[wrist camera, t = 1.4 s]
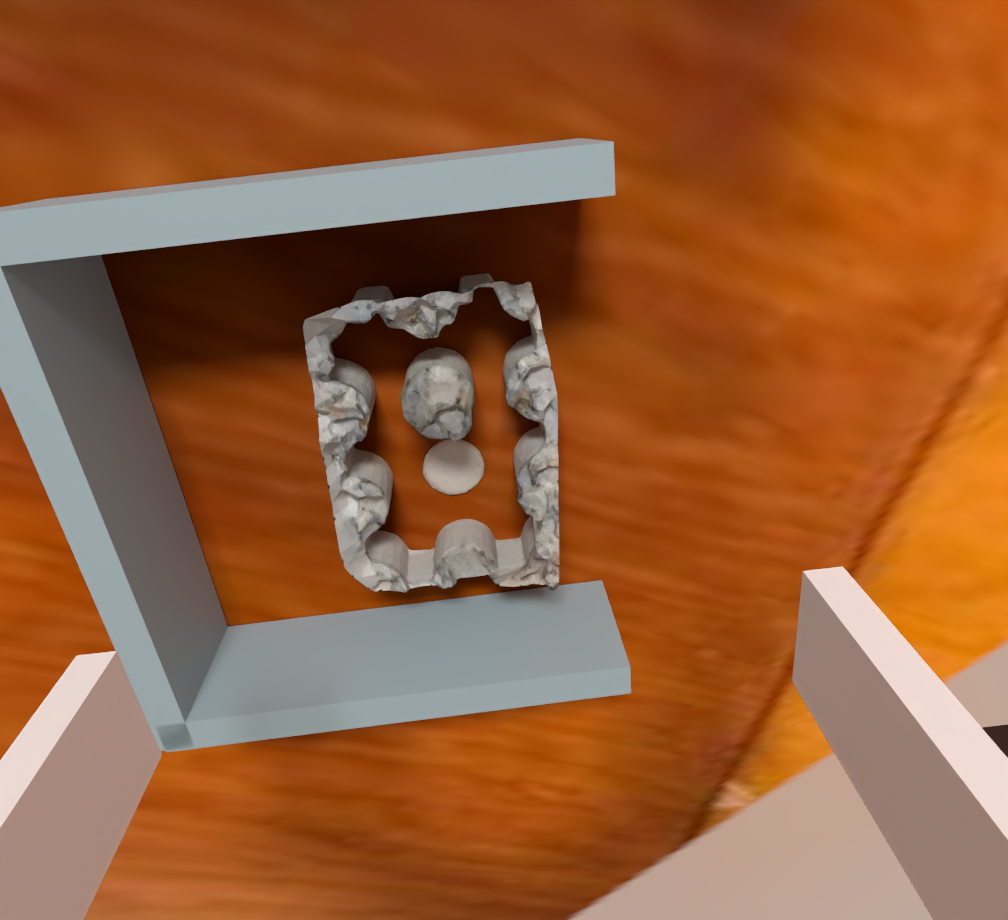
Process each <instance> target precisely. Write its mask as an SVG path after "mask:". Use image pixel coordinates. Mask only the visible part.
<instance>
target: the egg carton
mask: <svg viewBox="0 0 1008 920" xmlns="http://www.w3.org/2000/svg"><path fill="white" fill-rule="evenodd" d="M478 287H492V288H493V289H494V291H495V292H496V295H497V297H498V299H499V301H500V304H501V306H502V307H503V309H504V310H505V311H506V312H507V313H508V314H509V315H510V316H513V317H515V318H517V319H519V320H521V321H525V320H529V322H530V326H531V335H530V336H528V337H525V338H523V339H521V340H519V341H518V342H516V343H515V344H514V345H513V346H512V347H511V348H510V350H509V351H508V352H507V354H506V355H505V360H504V366H503V375H504V381H505V388H506V400H507V405H508V406H510V407H513V408H515V409H516V410H517V411H518V412H519V413H520V414H522V415H523V416H525V417H526V418H528V419H530V420H533V421H538V422H540V426H539V427H535V428H533V429H531V430H529V431H528V432H526V433H525V434H524V435H523V436H522V437H521V438H520V439H519V441H518V443H517V444H516V447H515V449H514V455H513V461H514V468H515V474H516V481H517V488H518V491H519V495H518V499H517V501H518V503H519V504H520V505H521V507H522V508H523V509H524V511H525V513H526V514H528V515H530V517H529V518H528V519H527V521H526V522H525V524H524V527H523V530H522V533H521V536H520V538H515V539H506V540H495V538H494V536H493V534H492V533H491V531H490V529H489V528H488V527H487V526H486V525H484V524H483V523H481V522H478V521H476V520H471V519H462V520H457V521H454V522H452V523H450V524H448V525H446V526H445V527H444V528H443V529H441V531H440V532H439V534H438V536H437V539H436V543H435V548H433V549H431V550H410V549H408V547H407V546H406V544H405V543H404V541H403V540H402V539H400V538H399V537H398V536H397V535H395V534H393V533H390V532H387V531H377V530H378V529H379V528H380V527H381V526H382V525H383V524H385V522H386V518H387V515H388V511H389V508H390V500H391V493H392V486H393V474H392V471H391V469H390V467H389V466H388V464H387V462H386V461H385V460H383V459H382V458H381V457H380V456H378V455H376V454H374V453H372V452H367V451H363V450H358V449H355V448H354V445H355V444H356V443H357V442H358V441H359V442H361V441H362V440H363V439H364V438H365V436H366V435H367V430H368V425H369V421H370V417H371V413H372V409H373V405H374V403H375V398H376V390H375V384H374V381H373V379H372V377H371V375H370V374H369V372H368V371H367V370H366V369H364V368H363V367H362V366H360V365H359V364H357V363H354V362H352V361H350V360H346V359H340V358H336V357H334V354H333V351H332V347H331V343H332V342H333V341H334V340H335V339H336V338H337V337H338V336H339V335H340V334H341V333H342V331H343V329H344V327H345V325H346V324H347V323H366V322H368V321H369V320H371V318H372V317H373V316H374V315H375V313H378V314H379V315H380V316H381V318H382V319H383V321H384V322H385V324H386V325H387V326H388V327H390V328H397V329H405V330H406V331H408V332H409V333H411V334H412V335H414V336H415V337H418V338H421V339H426V338H436V337H438V336H439V334H440V331H441V329H442V328H443V327H444V326H445V325H447V324H451V323H452V322H453V321H454V320H455V317H456V314H457V310H458V307H459V305H463V304H469V303H471V302H472V301H473V293H474V290H475V289H477V288H478ZM303 332H304V340H305V348H306V355H307V362H308V368H309V373H310V376H311V379H312V384H313V389H314V396H315V410H316V411H317V413H318V423H319V442H320V447H321V452H322V456H323V460H324V464H325V468H326V474H327V481H328V488H329V492H330V496H331V500H332V506H333V515H334V522H335V527H336V533H337V539H338V544H339V550H340V555H341V558H342V560H343V563H344V566H345V569H346V570H347V571H348V572H349V573H350V574H351V575H352V577H354V578H355V579H357V580H358V581H359V582H361V583H362V584H363V585H365V586H366V587H367V588H369V589H370V590H372V591H387V590H391V591H400V592H404V593H405V592H407V591H408V590H409V589H410V588H415V587H421V586H439V587H440V588H442V589H445V588H450V587H452V586H454V585H455V584H456V581H457V579H459V578H468V577H477V576H484V575H490V578H491V579H492V580H493V581H494V583H495V584H497V585H500V586H508V587H516V586H525V585H530V584H538V585H548V586H549V587H548V588H547V589H549V590H555V589H556V588H557V587H558V584H559V508H558V405H557V391H556V387H555V382H554V377H553V372H552V367H551V362H550V357H549V353H548V349H547V345H546V341H545V337H544V333H543V329H542V324H541V318H540V312H539V307H538V304H536V302H535V297H534V294H533V290H532V285H531V283H530V281H528V282H526V283H524V284H520V285H513V284H509V283H507V282H504V281H499V282H494V281H493V279H492V277H491V275H490V274H489V273H485V274H476V275H467V276H463V277H461V278H460V282H459V290H458V293H454V292H450V291H438V292H434V293H430V294H427V295H425V296H423V297H421V298H417V297H405V298H400V299H394V297H393V295H392V293H391V291H390V289H389V288H388V287H386V286H376V287H366V288H365V287H363V288H361V289H358V290H357V292H356V294H355V296H354V298H353V299H352V301H351V302H350V303H349V304H347V305H344V306H341V307H338V308H334V309H331V310H328V311H326V312H323V313H320V314H318V315H315V316H313V317H310V318H307V319H305V321H304V324H303ZM400 397H401V402H402V407H403V415H404V420H406V421H407V422H408V423H410V424H411V425H412V426H413V427H414V428H415V429H416V430H417V431H418V432H419V433H420V434H422V435H423V436H425V437H427V438H431V439H446V440H443V441H440V442H438V443H437V444H436V445H434V446H433V447H431V448H430V450H429V451H428V453H427V454H426V456H425V459H424V463H423V474H424V477H425V480H426V481H427V482H428V484H429V485H430V486H431V487H432V488H434V489H435V490H437V491H439V492H441V493H443V494H447V495H458V494H463V493H466V492H467V491H468V490H471V489H472V488H473V487H475V486H476V485H478V483H479V481H480V479H481V478H482V476H483V472H484V462H483V460H482V459H483V457H482V456H481V453H480V451H479V450H478V449H477V448H476V447H475V446H474V445H472V444H470V443H469V442H468V441H464V440H461V439H462V438H463V437H464V436H465V435H466V434H467V433H468V432H469V431H470V428H471V426H472V415H471V414H472V410H473V407H474V386H473V378H472V371H471V369H470V366H469V364H468V362H467V361H466V360H465V359H464V357H463V356H462V355H460V354H459V353H457V352H456V351H454V350H452V349H446V348H442V347H435V348H431V349H427V350H425V351H423V352H422V353H420V354H419V355H417V356H416V357H415V358H414V360H413V361H412V362H411V363H410V365H409V367H408V369H407V373H406V377H405V381H404V386H403V390H402V393H401V396H400Z"/></svg>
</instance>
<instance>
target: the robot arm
mask: <svg viewBox="0 0 1008 920" xmlns="http://www.w3.org/2000/svg"><path fill="white" fill-rule="evenodd" d="M792 682H793V684H794V685H795V687H796V689H797V690H798V692H799V694H800V695H801V697H802V699H803V701H804V702H805V704H806V706H807V707H808V709H809V711H810V712H811V714H812V716H813V717H814V719H815V721H816V723H817V724H818V726H819V728H820V729H821V731H822V733H823V734H824V736H825V738H826V739H827V741H828V743H829V744H830V746H831V748H832V750H833V751H834V753H835V754H836V756H837V758H838V760H839V761H840V763H841V765H842V766H843V768H844V770H845V771H846V773H847V775H848V776H849V778H850V780H851V782H852V783H853V785H854V787H855V788H856V790H857V792H858V793H859V795H860V797H861V798H862V800H863V802H864V804H865V805H866V807H867V809H868V810H869V812H870V814H871V815H872V817H873V819H874V820H875V822H876V824H877V825H878V827H879V829H880V830H881V832H882V834H883V836H884V837H885V839H886V841H887V842H888V844H889V846H890V847H891V849H892V851H893V852H894V854H895V856H896V857H897V859H898V861H899V863H900V864H901V866H902V868H903V869H904V871H905V873H906V874H907V876H908V878H909V879H910V881H911V883H912V884H913V886H914V888H915V889H916V891H917V893H918V895H919V896H920V898H921V900H922V901H923V903H924V905H925V907H926V908H927V910H928V912H929V913H930V915H931V917H932V918H933V920H1008V725H1001V726H993V727H984V728H981V726H980V725H979V724H978V723H977V722H976V721H975V719H974V718H973V717H972V716H971V715H970V714H969V713H968V711H967V710H966V709H965V708H964V707H963V706H962V704H961V703H960V702H959V701H958V700H957V699H956V697H954V695H953V694H952V693H951V692H950V690H949V689H948V688H947V687H946V686H945V685H944V684H943V682H942V681H941V680H940V679H939V678H938V677H937V675H936V674H935V673H934V672H933V671H932V670H931V668H930V667H929V666H928V665H927V664H926V663H925V661H924V660H923V659H922V658H921V657H920V656H919V654H918V653H917V652H916V651H915V650H914V649H913V648H912V646H911V645H910V644H909V643H908V642H907V641H906V639H905V638H904V637H903V636H902V635H901V634H900V632H899V631H898V630H897V629H896V628H895V627H894V625H893V624H892V623H891V622H890V621H889V620H888V618H887V617H886V616H885V615H884V614H883V613H882V612H881V610H880V609H879V608H878V607H877V606H876V605H875V603H874V602H873V601H872V600H871V599H870V598H869V596H868V595H867V594H866V593H865V592H864V591H863V589H862V588H861V587H860V586H859V585H858V584H857V582H856V581H855V580H854V579H853V578H852V577H851V576H850V574H849V573H848V572H847V571H846V570H845V569H844V567H835V568H826V569H817V570H809V571H803V575H802V585H801V596H800V606H799V616H798V626H797V637H796V647H795V657H794V668H793V678H792ZM161 756H162V754H161V752H160V749H159V747H158V745H157V742H156V740H155V738H154V736H153V733H152V731H151V729H150V726H149V724H148V722H147V719H146V717H145V715H144V712H143V710H142V708H141V706H140V703H139V701H138V699H137V696H136V694H135V692H134V689H133V687H132V685H131V683H130V680H129V678H128V676H127V673H126V671H125V669H124V666H123V664H122V662H121V660H120V657H119V655H118V653H117V651H112V652H104V653H95V654H87V655H78V656H76V657H75V659H74V660H73V661H72V663H71V664H70V665H69V667H68V668H67V670H66V671H65V672H64V674H63V675H62V676H61V678H60V679H59V681H58V682H57V683H56V685H55V686H54V687H53V689H52V690H51V691H50V693H49V694H48V696H47V697H46V698H45V700H44V701H43V702H42V704H41V705H40V707H39V708H38V709H37V711H36V712H35V713H34V715H33V716H32V718H31V719H30V720H29V722H28V723H27V724H26V726H25V727H24V729H23V730H22V731H21V733H20V734H19V735H18V737H17V738H16V740H15V741H14V742H13V744H12V745H11V746H10V748H9V749H8V751H7V752H6V753H5V755H4V756H3V757H2V759H1V760H0V920H83V919H84V917H85V915H86V913H87V911H88V909H89V907H90V905H91V903H92V901H93V898H94V896H95V894H96V892H97V890H98V888H99V886H100V884H101V882H102V880H103V877H104V875H105V873H106V871H107V869H108V867H109V865H110V863H111V861H112V859H113V857H114V854H115V852H116V850H117V848H118V846H119V844H120V842H121V840H122V838H123V836H124V834H125V831H126V829H127V827H128V825H129V823H130V821H131V819H132V817H133V815H134V813H135V810H136V808H137V806H138V804H139V802H140V800H141V798H142V796H143V794H144V792H145V790H146V787H147V785H148V783H149V781H150V779H151V777H152V775H153V773H154V771H155V769H156V767H157V764H158V762H159V760H160V758H161Z"/></svg>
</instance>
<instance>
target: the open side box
mask: <svg viewBox="0 0 1008 920" xmlns="http://www.w3.org/2000/svg"><path fill="white" fill-rule="evenodd" d="M612 195H615V170H614V142H612V141H602V140H593V139H583V138H577V139H568V140H559V141H550V142H542V143H533V144H524V145H515V146H507V147H498V148H489V149H480V150H472V151H463V152H454V153H445V154H437V155H428V156H419V157H410V158H402V159H393V160H384V161H375V162H367V163H358V164H349V165H340V166H332V167H323V168H314V169H305V170H297V171H288V172H279V173H270V174H262V175H253V176H244V177H235V178H227V179H218V180H209V181H200V182H192V183H183V184H174V185H165V186H157V187H148V188H139V189H131V190H122V191H113V192H104V193H96V194H87V195H78V196H69V197H61V198H52V199H45V200H39V201H34V202H28V203H23V204H17V205H12V206H6V207H1V208H0V387H1V389H2V391H3V394H4V396H5V398H6V401H7V403H8V405H9V407H10V410H11V412H12V414H13V417H14V419H15V421H16V423H17V426H18V428H19V430H20V433H21V435H22V437H23V439H24V442H25V444H26V446H27V449H28V451H29V453H30V456H31V458H32V460H33V462H34V465H35V467H36V469H37V472H38V474H39V476H40V478H41V481H42V483H43V485H44V488H45V490H46V492H47V494H48V497H49V499H50V501H51V504H52V506H53V508H54V511H55V513H56V515H57V517H58V520H59V522H60V524H61V527H62V529H63V531H64V533H65V536H66V538H67V540H68V543H69V545H70V547H71V549H72V552H73V554H74V556H75V559H76V561H77V563H78V566H79V568H80V570H81V572H82V575H83V577H84V579H85V582H86V584H87V586H88V588H89V591H90V593H91V595H92V598H93V600H94V602H95V604H96V607H97V609H98V611H99V614H100V616H101V618H102V621H103V623H104V625H105V627H106V630H107V632H108V634H109V637H110V639H111V641H112V643H113V646H114V648H115V650H116V651H117V653H118V655H119V657H120V660H121V662H122V664H123V666H124V669H125V671H126V673H127V676H128V678H129V680H130V683H131V685H132V687H133V689H134V692H135V694H136V696H137V699H138V701H139V703H140V706H141V708H142V710H143V712H144V715H145V717H146V719H147V722H148V724H149V726H150V729H151V731H152V733H153V736H154V738H155V740H156V742H157V745H158V747H159V749H160V751H163V750H165V751H166V752H172V751H180V750H188V749H196V748H204V747H212V746H219V745H227V744H235V743H243V742H251V741H259V740H267V739H275V738H282V737H290V736H298V735H306V734H314V733H322V732H330V731H338V730H346V729H353V728H361V727H369V726H377V725H385V724H393V723H401V722H409V721H416V720H424V719H432V718H440V717H448V716H456V715H464V714H472V713H479V712H487V711H495V710H503V709H511V708H519V707H527V706H535V705H542V704H550V703H558V702H566V701H574V700H582V699H590V698H598V697H605V696H613V695H621V694H629V693H631V673H630V664H629V661H628V658H627V655H626V652H625V649H624V646H623V643H622V640H621V637H620V634H619V631H618V628H617V625H616V621H615V618H614V615H613V612H612V609H611V606H610V603H609V600H608V597H607V594H606V591H605V588H604V585H603V582H602V580H599V581H591V582H583V583H575V584H567V585H559V586H558V587H557V588H556V589H555V590H549V589H547V588H548V587H543V588H535V589H527V590H519V591H510V592H502V593H494V594H486V595H478V596H470V597H462V598H454V599H446V600H438V601H430V602H422V603H414V604H406V605H398V606H390V607H382V608H374V609H366V610H358V611H350V612H342V613H334V614H325V615H317V616H309V617H301V618H293V619H285V620H277V621H269V622H261V623H253V624H245V625H237V626H229V627H228V625H227V622H226V619H225V616H224V613H223V610H222V607H221V605H220V602H219V599H218V596H217V593H216V590H215V587H214V584H213V581H212V578H211V575H210V572H209V569H208V566H207V564H206V561H205V558H204V555H203V552H202V549H201V546H200V543H199V540H198V537H197V534H196V531H195V528H194V525H193V523H192V520H191V517H190V514H189V511H188V508H187V505H186V502H185V499H184V496H183V493H182V490H181V487H180V485H179V482H178V479H177V476H176V473H175V470H174V467H173V464H172V461H171V458H170V455H169V452H168V449H167V446H166V444H165V441H164V438H163V435H162V432H161V429H160V426H159V423H158V420H157V417H156V414H155V411H154V408H153V405H152V403H151V400H150V397H149V394H148V391H147V388H146V385H145V382H144V379H143V376H142V373H141V370H140V367H139V364H138V362H137V359H136V356H135V353H134V350H133V347H132V344H131V341H130V338H129V335H128V332H127V329H126V326H125V323H124V321H123V318H122V315H121V312H120V309H119V306H118V303H117V300H116V297H115V294H114V291H113V288H112V285H111V282H110V280H109V277H108V274H107V271H106V268H105V265H104V262H103V259H102V256H101V255H102V254H111V253H119V252H128V251H136V250H145V249H154V248H162V247H171V246H180V245H188V244H197V243H206V242H214V241H223V240H232V239H240V238H249V237H257V236H266V235H275V234H283V233H292V232H301V231H309V230H318V229H327V228H335V227H344V226H353V225H361V224H370V223H378V222H387V221H396V220H404V219H413V218H422V217H430V216H439V215H448V214H456V213H465V212H474V211H482V210H491V209H499V208H508V207H517V206H525V205H534V204H543V203H551V202H560V201H569V200H577V199H586V198H595V197H603V196H612Z"/></svg>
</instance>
